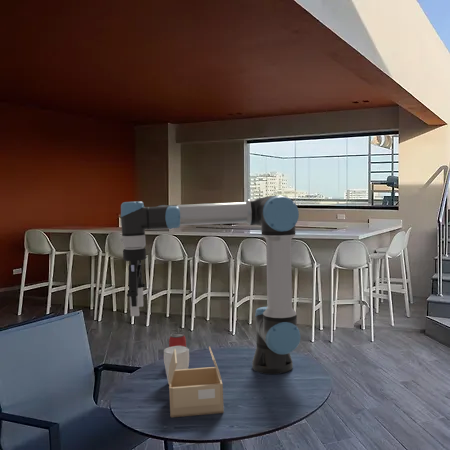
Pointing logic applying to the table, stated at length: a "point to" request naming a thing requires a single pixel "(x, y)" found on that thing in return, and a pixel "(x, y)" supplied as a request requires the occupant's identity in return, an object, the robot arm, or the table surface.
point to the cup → (181, 355)
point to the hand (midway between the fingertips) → (137, 311)
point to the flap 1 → (172, 366)
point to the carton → (196, 392)
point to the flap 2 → (215, 362)
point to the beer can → (177, 340)
